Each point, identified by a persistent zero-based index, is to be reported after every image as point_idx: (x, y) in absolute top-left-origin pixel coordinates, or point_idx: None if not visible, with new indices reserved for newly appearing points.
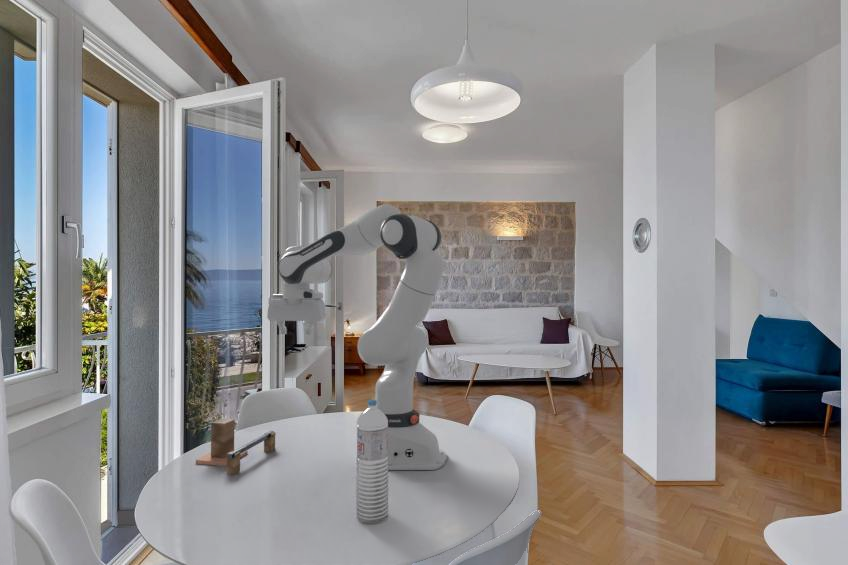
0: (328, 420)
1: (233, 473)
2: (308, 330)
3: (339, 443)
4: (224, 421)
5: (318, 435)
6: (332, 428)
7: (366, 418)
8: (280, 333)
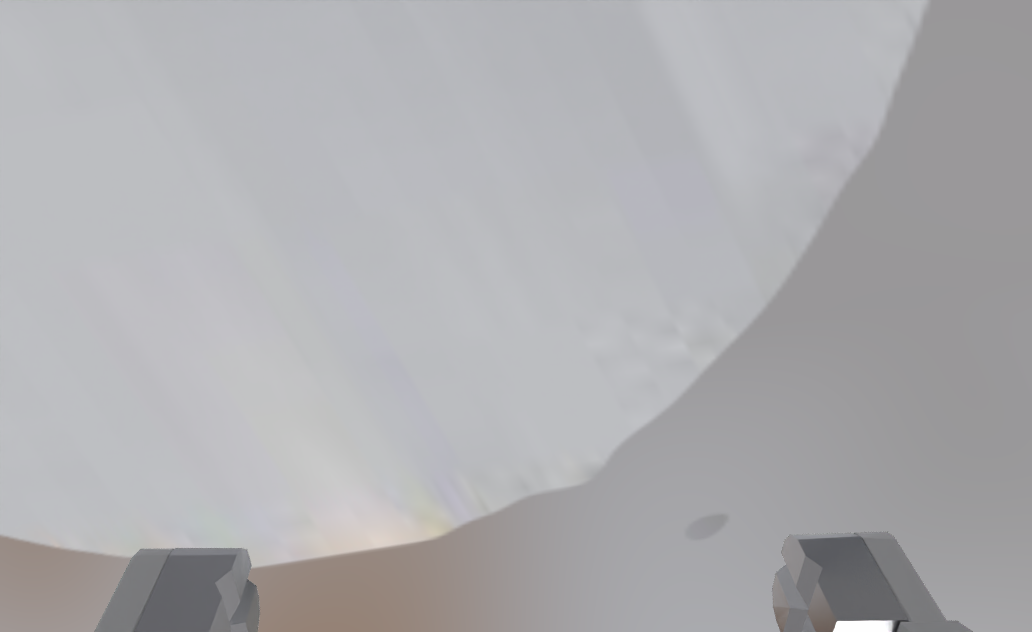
0: (466, 395)
1: None
2: (135, 615)
3: (172, 15)
4: None
5: (382, 138)
6: (370, 273)
7: None
8: (891, 536)
